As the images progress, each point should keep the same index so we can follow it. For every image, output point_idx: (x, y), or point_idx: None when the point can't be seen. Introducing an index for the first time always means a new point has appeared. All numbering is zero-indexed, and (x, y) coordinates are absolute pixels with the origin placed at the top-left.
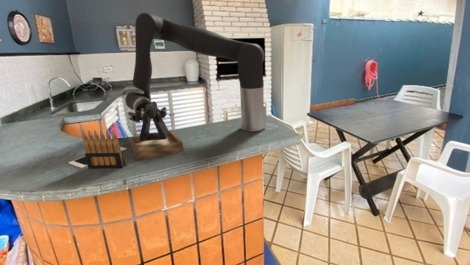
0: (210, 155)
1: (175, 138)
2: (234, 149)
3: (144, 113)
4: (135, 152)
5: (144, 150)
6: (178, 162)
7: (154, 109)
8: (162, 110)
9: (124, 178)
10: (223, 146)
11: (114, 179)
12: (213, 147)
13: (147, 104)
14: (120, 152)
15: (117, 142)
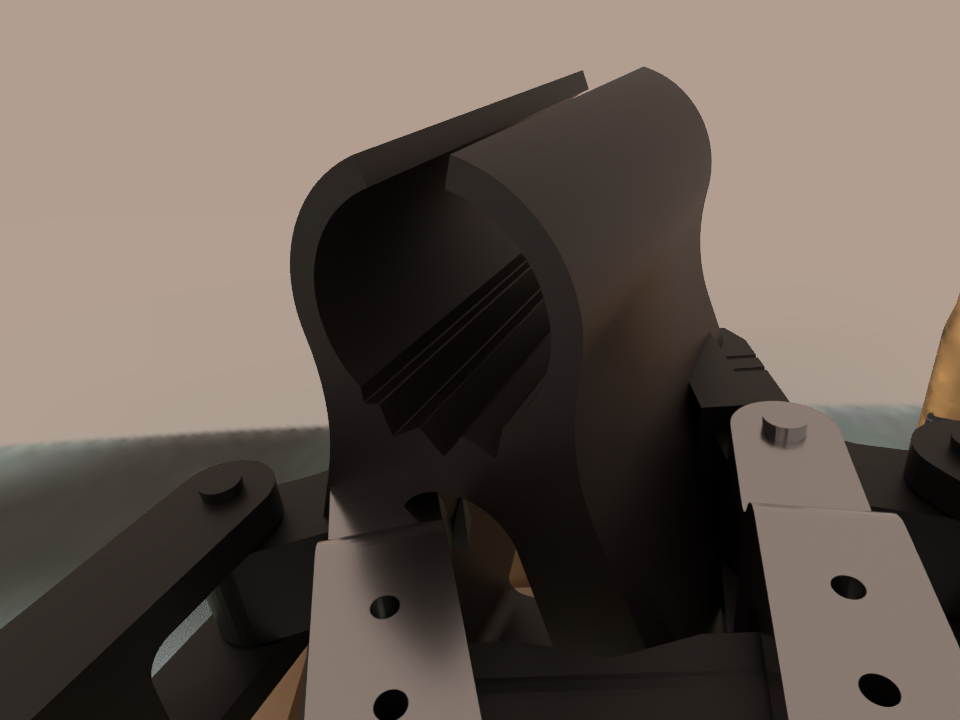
0: (237, 454)
1: (301, 676)
2: (53, 465)
3: (695, 242)
4: None
5: None
6: None
7: (474, 240)
8: (202, 490)
9: (817, 408)
10: (37, 529)
11: (885, 416)
12: (101, 545)
13: (608, 87)
14: (924, 406)
15: (954, 307)
